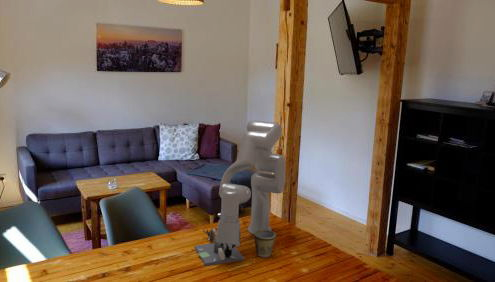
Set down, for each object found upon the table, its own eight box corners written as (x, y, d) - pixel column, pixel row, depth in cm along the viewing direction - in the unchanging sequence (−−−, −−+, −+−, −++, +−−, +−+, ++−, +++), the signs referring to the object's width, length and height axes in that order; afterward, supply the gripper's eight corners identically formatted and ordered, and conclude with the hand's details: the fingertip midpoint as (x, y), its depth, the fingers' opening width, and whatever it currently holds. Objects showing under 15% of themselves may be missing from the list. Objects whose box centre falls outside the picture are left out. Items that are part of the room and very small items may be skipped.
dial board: (192, 248, 192) (192, 245, 192) (230, 243, 199) (230, 240, 199) (203, 266, 176) (203, 263, 176) (243, 259, 183) (244, 257, 183)
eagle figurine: (199, 237, 202) (207, 241, 194) (205, 224, 203) (213, 227, 196) (211, 243, 205) (219, 247, 197) (217, 230, 207) (225, 233, 199)
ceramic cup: (271, 260, 183) (272, 239, 182) (250, 256, 187) (251, 235, 185) (278, 248, 196) (279, 229, 194) (258, 245, 199) (259, 225, 197)
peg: (213, 249, 189) (213, 241, 188) (222, 248, 190) (222, 240, 189) (217, 260, 178) (217, 252, 178) (227, 260, 180) (227, 251, 179)
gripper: (210, 218, 174) (209, 258, 178) (244, 222, 172) (242, 263, 175) (215, 212, 182) (214, 250, 185) (248, 216, 179) (246, 255, 182)
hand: (227, 256), depth 180 cm, fingers closed
